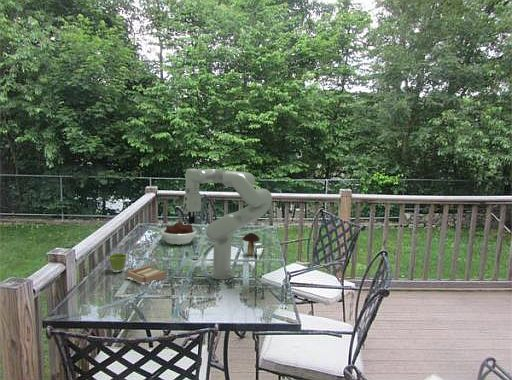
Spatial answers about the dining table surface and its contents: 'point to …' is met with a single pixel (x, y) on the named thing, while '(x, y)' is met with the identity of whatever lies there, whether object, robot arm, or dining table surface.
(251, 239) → the decorative mushroom
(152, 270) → the beige rectangular block
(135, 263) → the dining table surface
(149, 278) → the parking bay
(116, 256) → the plant pot
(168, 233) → the white bowl with filling
